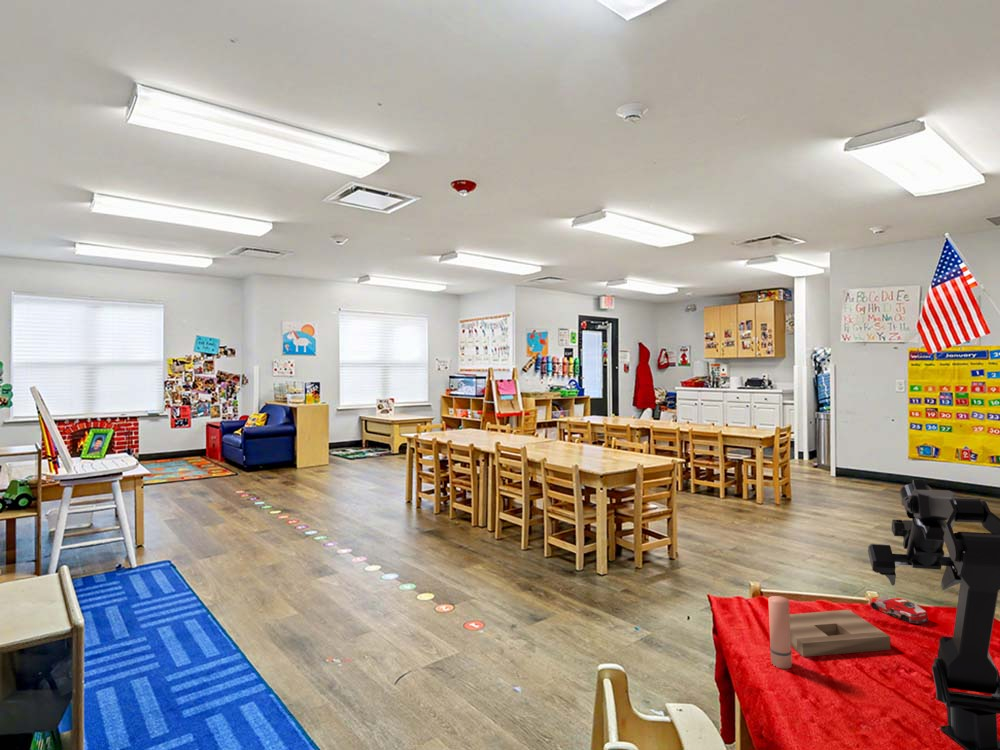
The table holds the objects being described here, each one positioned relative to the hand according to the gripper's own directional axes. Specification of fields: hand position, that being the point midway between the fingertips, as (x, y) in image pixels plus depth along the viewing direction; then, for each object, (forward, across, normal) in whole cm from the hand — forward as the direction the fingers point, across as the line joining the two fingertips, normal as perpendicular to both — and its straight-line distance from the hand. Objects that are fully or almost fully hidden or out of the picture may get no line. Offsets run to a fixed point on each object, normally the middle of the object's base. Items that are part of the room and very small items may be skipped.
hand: (917, 585), depth 127 cm
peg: (+5, +28, +19) cm, 34 cm away
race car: (+24, 0, -9) cm, 25 cm away
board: (+13, +18, +6) cm, 23 cm away
